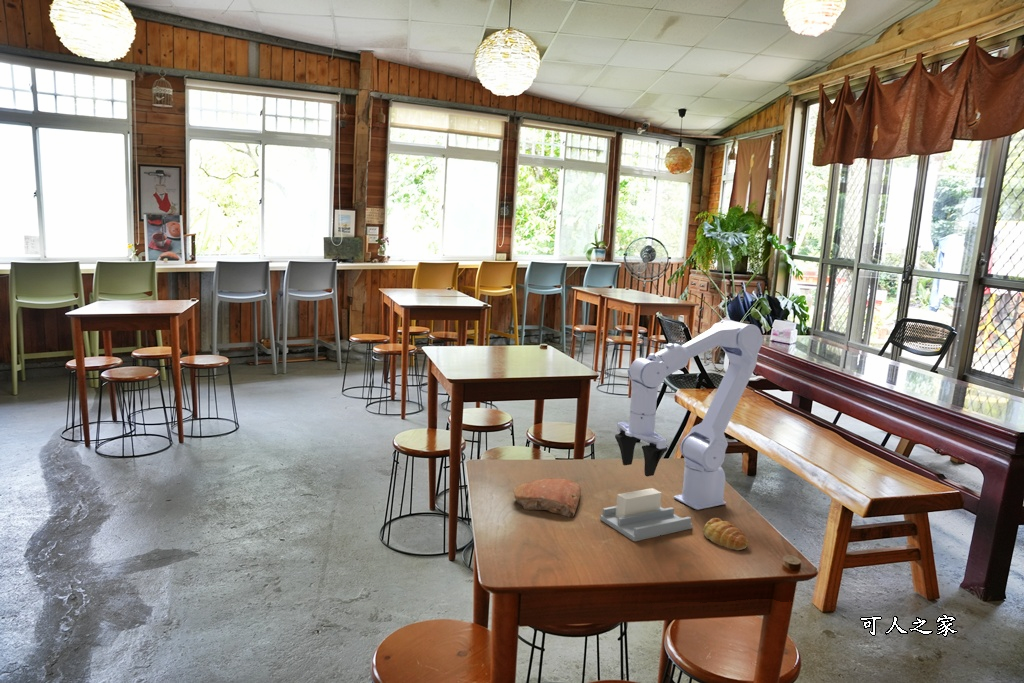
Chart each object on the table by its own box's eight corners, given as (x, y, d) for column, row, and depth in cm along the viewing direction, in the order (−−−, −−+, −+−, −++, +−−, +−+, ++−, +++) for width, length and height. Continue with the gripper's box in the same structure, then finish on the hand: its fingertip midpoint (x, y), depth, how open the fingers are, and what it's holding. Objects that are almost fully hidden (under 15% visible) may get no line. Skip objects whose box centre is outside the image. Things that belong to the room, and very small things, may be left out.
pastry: (755, 548, 142) (757, 531, 141) (733, 555, 138) (735, 537, 138) (720, 530, 150) (721, 514, 149) (698, 536, 146) (699, 519, 145)
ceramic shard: (523, 466, 168) (584, 482, 166) (518, 491, 168) (578, 508, 166) (513, 479, 154) (579, 497, 151) (506, 507, 154) (572, 525, 151)
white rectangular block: (650, 509, 156) (652, 487, 155) (659, 514, 154) (661, 492, 153) (615, 516, 151) (617, 494, 150) (624, 521, 149) (625, 499, 148)
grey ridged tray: (656, 508, 159) (657, 498, 159) (692, 528, 149) (693, 517, 149) (600, 519, 151) (600, 508, 151) (634, 541, 141) (635, 530, 141)
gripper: (608, 405, 159) (604, 462, 161) (651, 422, 146) (646, 483, 149) (632, 402, 162) (627, 458, 165) (675, 419, 150) (670, 478, 152)
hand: (638, 469), depth 157 cm, fingers open, 7 cm apart
